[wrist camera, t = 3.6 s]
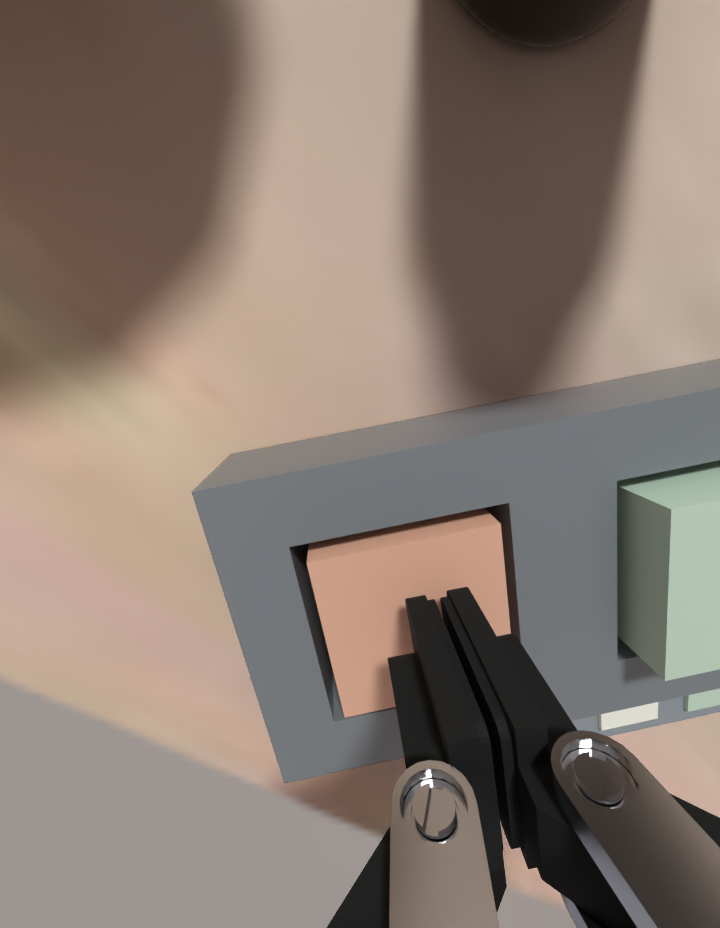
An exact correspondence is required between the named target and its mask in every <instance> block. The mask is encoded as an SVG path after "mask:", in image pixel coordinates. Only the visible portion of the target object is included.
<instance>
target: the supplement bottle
mask: <svg viewBox="0 0 720 928" xmlns="http://www.w3.org/2000/svg"><path fill="white" fill-rule="evenodd" d="M631 1H632V0H461V2H462V3H463V4H464V6H465V7H466V8H467V9H468V11H469V12H470V13H471V14H472V15H473V16H474V17H475V18H476V19H477V20H478V21H479V22H480V23H481V24H483V25H484V26H485V27H486V28H487V29H489V30H490V31H492V32H494V33H495V34H497V35H499V36H501V37H503V38H505V39H507V40H509V41H512V42H515V43H518V44H522V45H527V46H537V47H543V46H554V45H560V44H565V43H568V42H572V41H575V40H577V39H580V38H582V37H584V36H587V35H588V34H590V33H592V32H594V31H596V30H597V29H599V28H600V27H602V26H603V25H605V24H606V23H608V22H609V21H610V20H612V19H613V18H614V17H615V16H616V15H618V14H619V13H620V12H621V11H622V10H623V9H624V8H625V7H626V6H627V5H628V4H629V3H630V2H631Z"/></svg>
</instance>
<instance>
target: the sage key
mask: <svg viewBox="0 0 720 928" xmlns="http://www.w3.org/2000/svg"><path fill="white" fill-rule="evenodd" d="M617 636H618V637H619V638H620V639H621V640H622V641H623V642H624V643H625V644H626V645H628V646H629V647H630V648H631V649H632V650H633V651H634V652H635V653H636V654H637V655H638V656H639V657H640V658H641V659H642V660H643V661H644V662H645V663H646V664H647V665H648V666H649V667H651V668H652V669H653V670H654V671H655V672H656V673H657V674H658V675H659V676H660V677H661V678H662V679H663V680H664V681H668V680H673V679H677V678H682V677H686V676H691V675H696V674H700V673H705V672H710V671H714V670H719V669H720V460H718V461H714V462H709V463H704V464H699V465H694V466H689V467H684V468H679V469H674V470H669V471H664V472H659V473H654V474H649V475H644V476H639V477H634V478H629V479H624V480H619V481H617Z"/></svg>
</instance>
